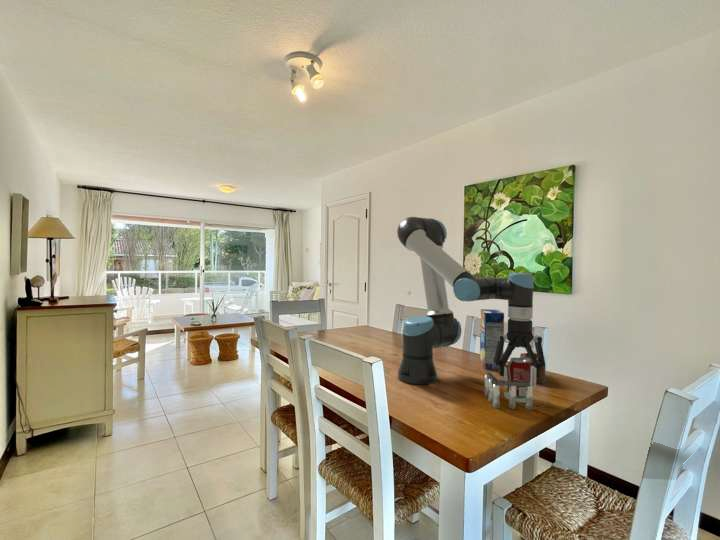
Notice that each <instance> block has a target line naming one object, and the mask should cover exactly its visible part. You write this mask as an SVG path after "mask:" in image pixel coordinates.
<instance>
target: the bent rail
mask: <svg viewBox="0 0 720 540" xmlns="http://www.w3.org/2000/svg"><path fill="white" fill-rule="evenodd" d="M501 386H502V387H504V386H509V400H508V408H509V409H512V410H515V409H516V408H517V402H516V386H526V393H525V403H524V408H525V409H527V410H533V401H532V399H533V400H534V392H533V391H534V388H533V386H532V385H530V382H529V381H508V380H507V381H502V379H500V380H498V379H497V378H496V377H495V376H494V374H492V373H491V372H490V371H486V373H485V375H484V393H483V396H484V397H485V398H487V399H488V402H489V403H492V408H494V409H499V408H500V395H501V394H500V392H501V391H500V390H501V389H500V388H501Z"/></svg>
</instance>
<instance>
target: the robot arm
mask: <svg viewBox="0 0 720 540" xmlns="http://www.w3.org/2000/svg"><path fill="white" fill-rule="evenodd" d="M396 230H397V231H396V232H397V233H396V234H397V239H398V240H399V242H400V243H401V244H402V246H404V247H405V248H406V249H407V250H408V251H413V252H414V253H415V254H416V255H417V256H418V257H419V260H420V265H421V273H422V279H423V280H422V281H423V286H424V293H425V294H424V295H425V302H426V307H427V312H426V313H425V314H424V315H420V316H412V317H408V318H406V319H404V321H403V325H402V330H401V331H402V359H401V361H400V364H399V367H398V369H397V378H398V380H399V381H401V382H404V383H406V384H411V385H429V384H430V385H431V384H433V383H436V382H437V381H438V373H437V369H436V365H435V362H434V350H435V349H439V348H443V347H444V348H445V347H450V346H452V345H455V344H457V343H458V341H459V340H460V338H461V337H462V325H461V322H460V321H459V320H458V319H457V317H455V316H454V312H453V311H452V310H451V309H450V308H449V304H448V303H449V301H448V295H447V289H446V282H447V283H448V285H450V286H451V287H452V289H453V290H452V291H453V294H454V296H455V298H456V299H457V300H459V301H460V302H474V301H475V302H476V301H485V300H501V301H502V300H503V301H507V303H508V304H507V317H508V319H507V333H506V334H504V335H498V344H497V348H496V352H495V357H494V361H493V362H494V363H495V364H496V365H499V370H498V374H499V376H500V377H501V381H508V366H507V367H506V364H508V363H507V362H508V360H510V358H511V355H512V353H513V351H514V350H515V349H516V348H524V349H525V351H526V353H528V355H529V357H530V359H531V361H532V363H533V365H534V366H531V377H530V385H532V386H533V389H536V388H537V382H536V377H539V369H540V368H541V367H542V366H545V367H546V360H545V355H544V351H543V347H542V346H543V345H542V342H543V337H541V336H540V335H534V334H533V321H532V319H533V314H534V312H533V311H534V309H533V306H534V303H533V299H534V298H533V297H534V287H535V286H534V276H533V275H532V273H529V272H510V273H509V274H508V277H507V278H504V277H493V276H492V277H490V276H484V277H482V276H481V277H476V276H474V275H473V274H471V273H470V271H468V270H467V269H466V268H464V267H463V266H462V265H461V264H460V263H459V262H458V261H456V260H455V259H454V258H453V257H452V256H450V254H448V253H447V251H444V250H443V249H444V243H445V242H446V239H447V238H448V237H447V236H448V235H447V234H448V233H447V228H446V226H445V224H444V223H443V222H442V221H440V220H438V219H435V218H431V217H430V218H427V217H419V216H409V217H408V216H407V217H406V218H404V219H403V220H402V221H401V222H400V223H399V225H398V227H397V229H396ZM445 281H446V282H445ZM507 340H508V341H509V342H508V344H507V345H506V346H507V347H506V348H505V350H504V347H505V346H504V345H505V342H506V341H507ZM532 341H533V342H534V346H535V351H536V352H534V351H533V348H532V346H531V344H530V343H531V342H532ZM502 351H503V356H502V358H501V355H502ZM534 353H536V354H537V357H538V361H537V359H536V357H535V355H534ZM500 359H501V360H500ZM503 387H504V388H507V386H503Z"/></svg>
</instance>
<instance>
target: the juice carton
mask: <svg viewBox="0 0 720 540" xmlns="http://www.w3.org/2000/svg"><path fill="white" fill-rule="evenodd" d="M479 327H480V329H479V331H480V334H479V335H480V336H479V341H480V342H479V345H480V346H479V363H480V362H481V363H480V364H481V366H482V368H483V367H484V368H483V370H489V369H490V370H491V371H495V370H496V371H499V365H496V364H495V363H494V362H493V361H494V357H495V352H496V348H497V344H498V335H505V334H504V333H505V313H504V312H503V311H502V310H499V309H489V308H488V309H485V308H482V309H480V326H479ZM503 354H504V350H503V351H502V355H501V358H502V356H503ZM500 360H501V359H500Z"/></svg>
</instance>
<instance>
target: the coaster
mask: <svg viewBox="0 0 720 540" xmlns="http://www.w3.org/2000/svg"><path fill="white" fill-rule="evenodd" d="M503 397H504V398H505V399H507V400H508V401H509V393H508V392H507V390H505V391H504V392H503ZM532 402H534V398H533V399H532ZM516 403H519V404H525V398H517V397H516Z"/></svg>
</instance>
